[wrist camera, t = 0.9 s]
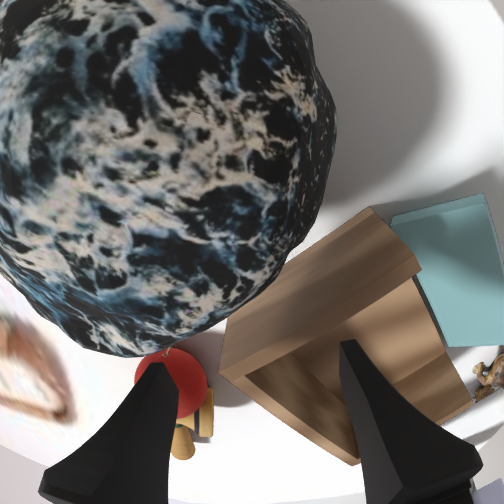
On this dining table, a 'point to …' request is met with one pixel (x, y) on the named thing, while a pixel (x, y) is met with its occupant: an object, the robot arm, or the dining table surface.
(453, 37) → the dining table surface
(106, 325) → the decorative stone
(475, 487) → the lotion bottle
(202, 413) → the kendama
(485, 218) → the lid
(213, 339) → the dining table surface
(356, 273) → the crate
